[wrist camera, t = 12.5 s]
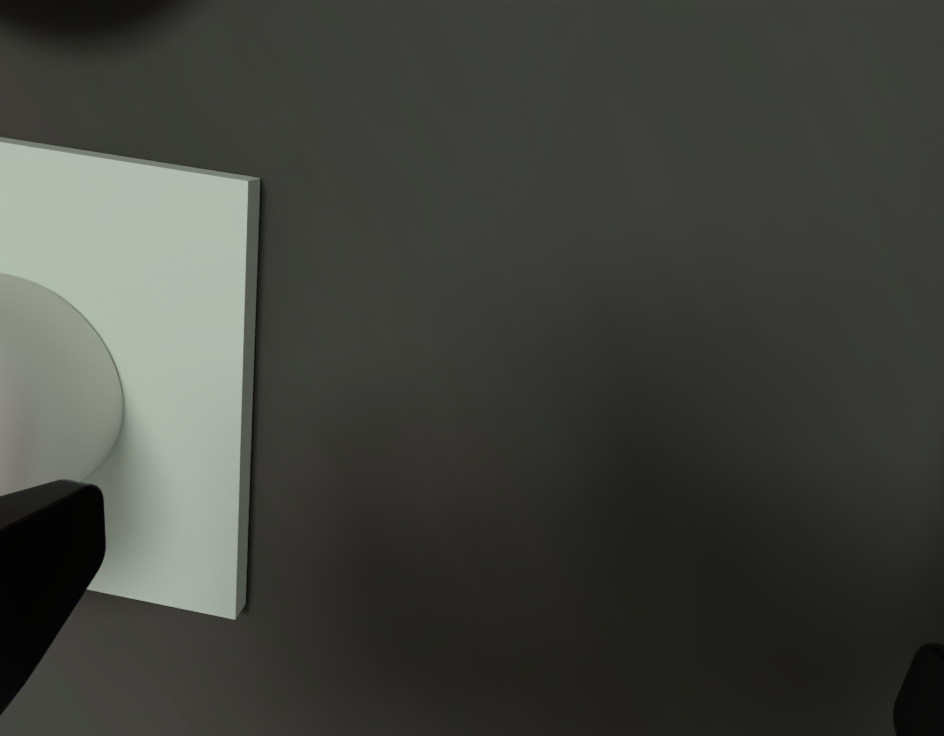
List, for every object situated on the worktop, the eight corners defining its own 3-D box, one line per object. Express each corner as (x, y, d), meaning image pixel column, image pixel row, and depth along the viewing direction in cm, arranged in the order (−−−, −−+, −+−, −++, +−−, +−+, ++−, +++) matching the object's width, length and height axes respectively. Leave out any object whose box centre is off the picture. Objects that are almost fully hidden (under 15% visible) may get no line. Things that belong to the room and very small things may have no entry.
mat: (260, 178, 20) (248, 181, 20) (245, 604, 25) (235, 619, 24) (-216, 103, 21) (-245, 103, 21) (-142, 525, 26) (-162, 538, 26)
